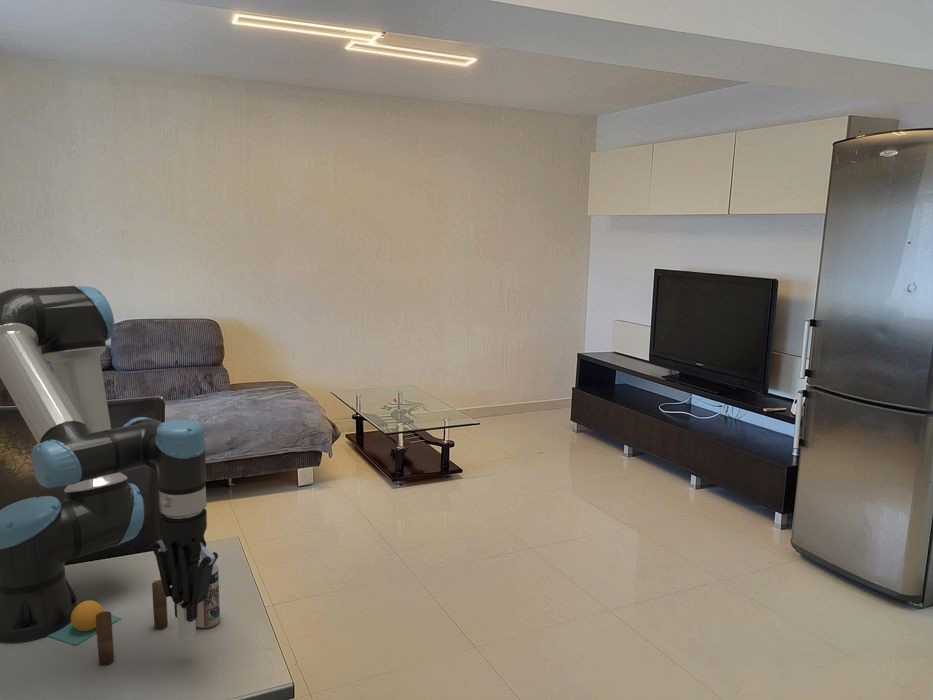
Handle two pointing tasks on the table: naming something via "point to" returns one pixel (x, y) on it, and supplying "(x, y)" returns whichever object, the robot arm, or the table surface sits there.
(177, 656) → the table surface
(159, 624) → the post
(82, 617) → the ball
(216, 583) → the beer can
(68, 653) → the table surface
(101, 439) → the robot arm
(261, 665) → the table surface
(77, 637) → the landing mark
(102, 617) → the post
